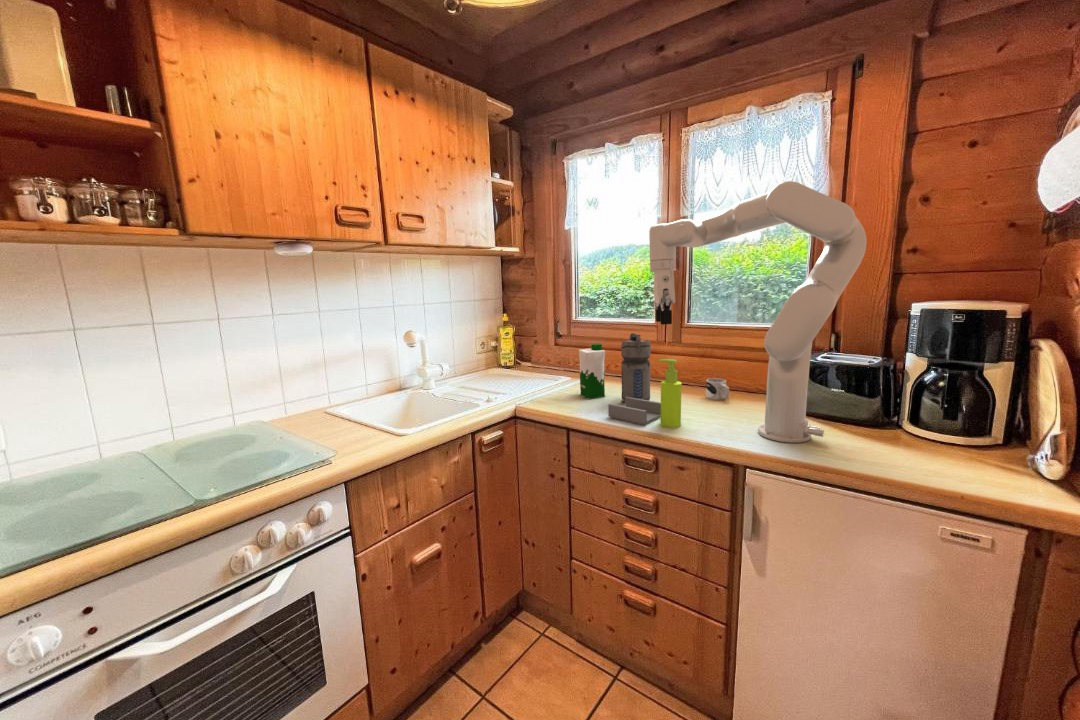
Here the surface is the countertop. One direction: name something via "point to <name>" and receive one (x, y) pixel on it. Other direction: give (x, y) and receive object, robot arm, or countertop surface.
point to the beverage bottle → (635, 368)
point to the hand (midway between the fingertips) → (663, 322)
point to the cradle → (636, 411)
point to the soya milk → (592, 372)
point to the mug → (716, 389)
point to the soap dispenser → (670, 397)
